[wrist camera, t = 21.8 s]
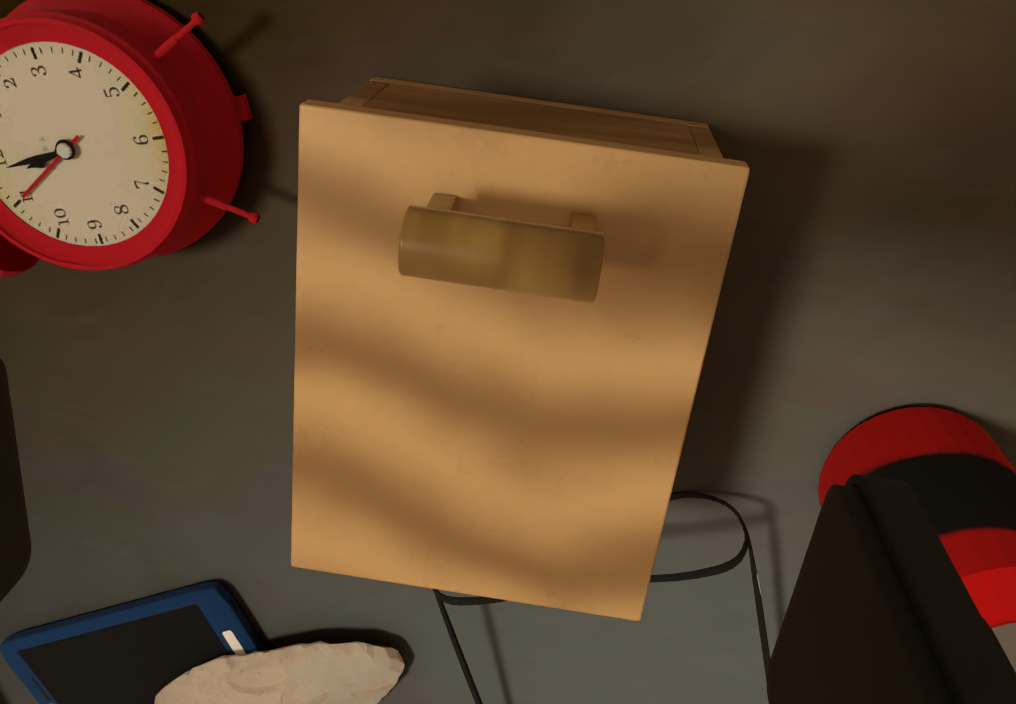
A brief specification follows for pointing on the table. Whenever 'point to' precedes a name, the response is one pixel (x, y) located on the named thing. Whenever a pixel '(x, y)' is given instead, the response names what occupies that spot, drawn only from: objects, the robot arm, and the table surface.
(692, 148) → the chest
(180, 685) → the stone
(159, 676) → the cell phone
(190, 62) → the alarm clock
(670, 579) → the glasses
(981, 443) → the soda can
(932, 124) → the table surface
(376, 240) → the lid
